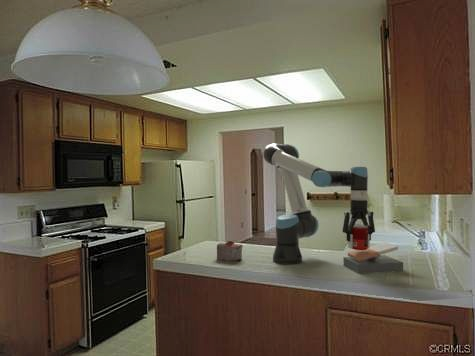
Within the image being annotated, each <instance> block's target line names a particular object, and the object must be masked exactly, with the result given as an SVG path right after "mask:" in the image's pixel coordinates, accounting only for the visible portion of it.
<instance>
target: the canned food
mask: <svg viewBox="0 0 475 356" xmlns="http://www.w3.org/2000/svg"><path fill="white" fill-rule="evenodd" d="M351 234H352V235H353V238H352V249H351V250H354V251H356V250H367V248H368V226H365V225H363V223H355V225H354V226H353V230H352V232H351Z"/></svg>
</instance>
